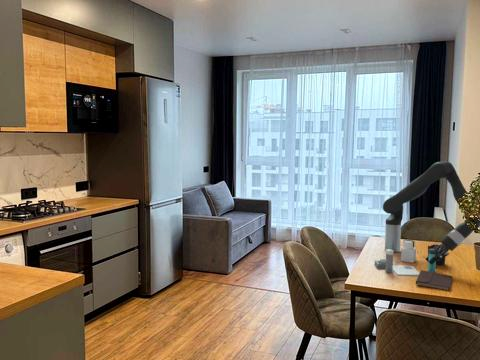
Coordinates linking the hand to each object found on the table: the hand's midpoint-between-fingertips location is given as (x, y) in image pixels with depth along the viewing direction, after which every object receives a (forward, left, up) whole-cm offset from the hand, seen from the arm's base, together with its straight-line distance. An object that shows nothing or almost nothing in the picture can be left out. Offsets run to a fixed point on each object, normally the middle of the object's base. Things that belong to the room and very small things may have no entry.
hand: (428, 261), depth 227 cm
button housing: (-7, -22, -5) cm, 24 cm away
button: (-7, -22, -4) cm, 24 cm away
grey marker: (+3, -21, -5) cm, 22 cm away
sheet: (0, -12, -5) cm, 13 cm away
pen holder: (-16, +10, -6) cm, 20 cm away
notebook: (+18, -3, -5) cm, 19 cm away
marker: (0, +2, -5) cm, 6 cm away
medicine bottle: (-21, -4, -5) cm, 22 cm away
